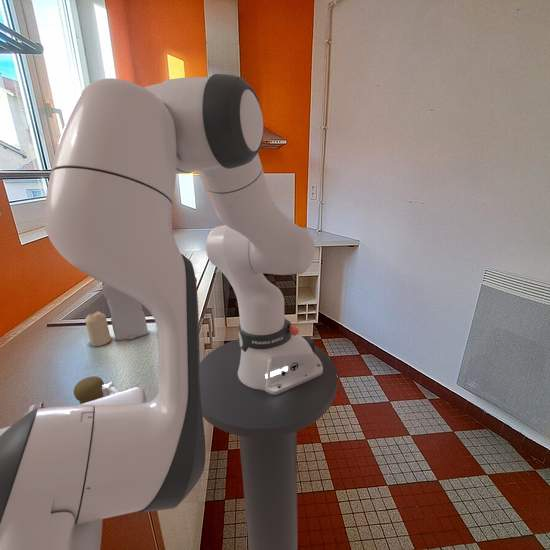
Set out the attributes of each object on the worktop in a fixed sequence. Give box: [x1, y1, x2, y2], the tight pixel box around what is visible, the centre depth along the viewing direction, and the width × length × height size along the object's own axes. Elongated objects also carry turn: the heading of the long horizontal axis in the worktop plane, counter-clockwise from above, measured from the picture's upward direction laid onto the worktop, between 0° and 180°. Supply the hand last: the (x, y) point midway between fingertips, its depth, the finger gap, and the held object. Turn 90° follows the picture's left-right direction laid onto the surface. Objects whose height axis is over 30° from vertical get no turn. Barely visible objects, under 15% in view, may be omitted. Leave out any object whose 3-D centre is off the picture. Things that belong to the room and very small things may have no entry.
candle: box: [84, 311, 112, 347], centre depth 94 cm, size 6×6×10 cm
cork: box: [73, 375, 105, 405], centre depth 61 cm, size 6×6×11 cm
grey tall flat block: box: [101, 283, 149, 341], centre depth 95 cm, size 11×4×22 cm, turn 111°
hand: (74, 396), depth 48 cm, fingers open, 8 cm apart
